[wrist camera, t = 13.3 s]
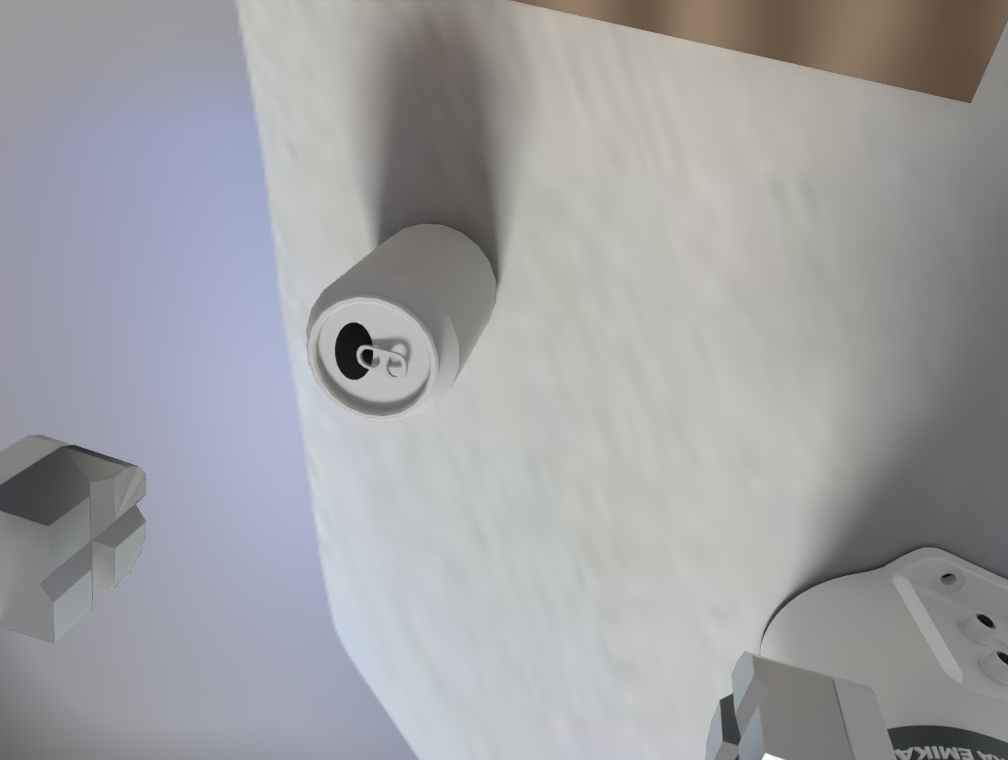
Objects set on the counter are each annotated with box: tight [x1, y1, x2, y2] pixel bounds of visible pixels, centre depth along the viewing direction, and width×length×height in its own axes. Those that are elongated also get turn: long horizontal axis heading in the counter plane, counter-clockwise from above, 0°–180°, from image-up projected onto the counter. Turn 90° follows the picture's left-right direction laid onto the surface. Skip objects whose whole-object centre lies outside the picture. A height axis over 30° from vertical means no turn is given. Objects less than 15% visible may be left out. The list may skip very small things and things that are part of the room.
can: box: [306, 223, 496, 421], centre depth 40 cm, size 8×8×12 cm
